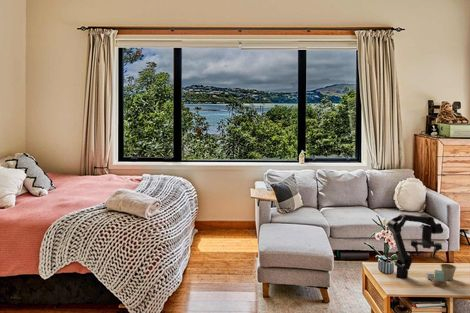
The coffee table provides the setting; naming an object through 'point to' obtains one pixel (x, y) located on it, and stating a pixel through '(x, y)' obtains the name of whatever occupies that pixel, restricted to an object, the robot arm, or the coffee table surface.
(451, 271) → the flower pot
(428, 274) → the grey block
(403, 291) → the coffee table surface
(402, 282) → the coffee table surface
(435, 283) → the walnut base block
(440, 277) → the teal block
